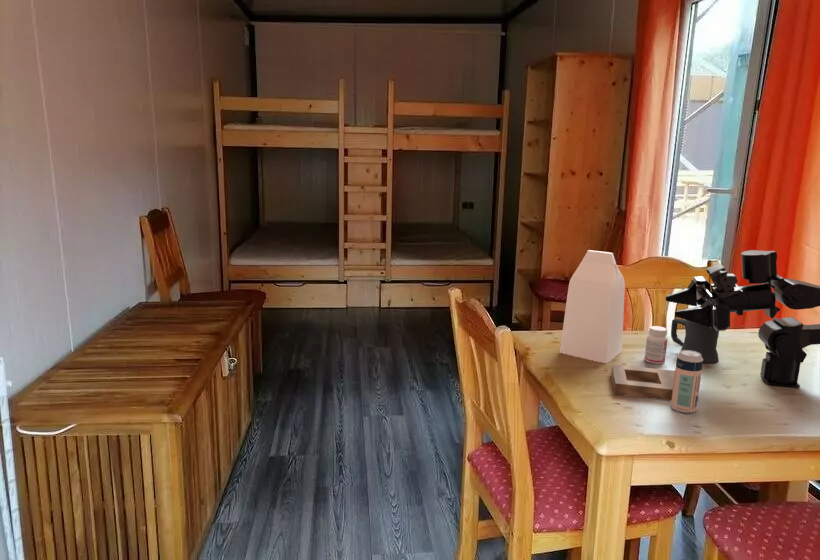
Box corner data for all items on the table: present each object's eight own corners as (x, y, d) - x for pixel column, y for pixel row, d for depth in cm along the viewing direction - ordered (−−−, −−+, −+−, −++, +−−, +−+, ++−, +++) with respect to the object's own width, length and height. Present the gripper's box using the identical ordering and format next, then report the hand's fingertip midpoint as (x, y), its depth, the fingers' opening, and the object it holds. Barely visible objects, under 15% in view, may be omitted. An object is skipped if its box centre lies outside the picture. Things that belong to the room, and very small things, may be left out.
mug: (724, 358, 156) (730, 315, 153) (709, 366, 150) (715, 322, 148) (678, 346, 165) (682, 305, 162) (661, 353, 159) (666, 311, 156)
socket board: (680, 381, 140) (682, 371, 139) (690, 403, 128) (691, 391, 128) (610, 374, 143) (611, 364, 143) (614, 394, 132) (615, 383, 131)
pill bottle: (666, 365, 150) (670, 331, 148) (645, 363, 151) (649, 330, 149) (662, 358, 155) (666, 326, 153) (642, 356, 156) (646, 324, 154)
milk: (559, 353, 157) (567, 251, 152) (577, 342, 166) (585, 246, 161) (606, 363, 150) (616, 258, 145) (621, 351, 160) (632, 251, 154)
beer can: (689, 404, 127) (696, 349, 125) (700, 414, 123) (708, 357, 120) (666, 404, 127) (673, 349, 125) (676, 414, 123) (684, 357, 120)
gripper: (730, 251, 145) (659, 260, 148) (759, 279, 128) (678, 287, 131) (731, 296, 148) (662, 303, 152) (759, 328, 131) (680, 335, 134)
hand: (670, 306), depth 142 cm, fingers open, 9 cm apart
